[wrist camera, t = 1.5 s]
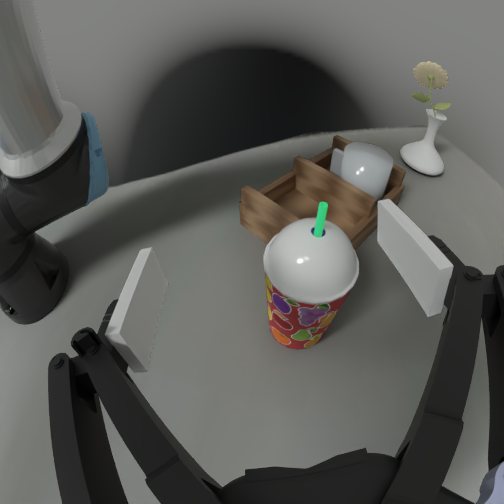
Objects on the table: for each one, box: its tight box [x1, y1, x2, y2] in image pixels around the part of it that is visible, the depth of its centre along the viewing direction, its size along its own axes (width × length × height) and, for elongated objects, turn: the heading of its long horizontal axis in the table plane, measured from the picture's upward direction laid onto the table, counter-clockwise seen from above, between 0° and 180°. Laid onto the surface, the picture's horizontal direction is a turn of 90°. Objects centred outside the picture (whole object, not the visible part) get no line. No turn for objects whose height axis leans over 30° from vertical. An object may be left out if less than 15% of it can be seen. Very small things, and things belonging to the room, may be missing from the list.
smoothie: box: [263, 202, 359, 349], centre depth 28 cm, size 8×8×20 cm
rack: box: [239, 135, 406, 250], centre depth 46 cm, size 16×24×8 cm, turn 133°
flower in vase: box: [400, 61, 451, 175], centre depth 49 cm, size 13×11×25 cm
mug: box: [330, 142, 393, 206], centre depth 46 cm, size 10×8×9 cm
